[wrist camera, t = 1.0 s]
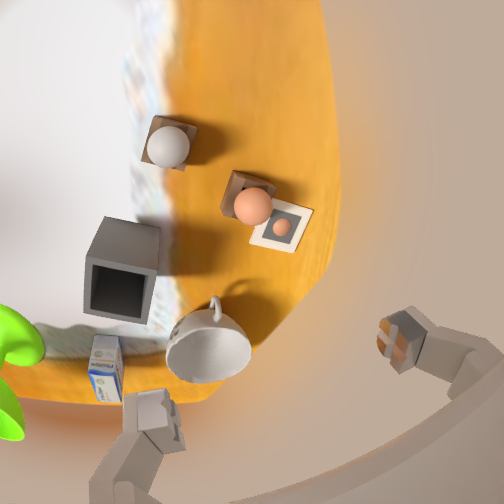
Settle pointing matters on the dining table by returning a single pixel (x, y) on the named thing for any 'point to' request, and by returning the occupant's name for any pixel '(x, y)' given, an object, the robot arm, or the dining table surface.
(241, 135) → the dining table surface
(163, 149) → the white ball
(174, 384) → the dining table surface
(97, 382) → the medicine box
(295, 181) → the dining table surface
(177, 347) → the teacup
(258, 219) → the terracotta ball
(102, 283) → the charcoal tube
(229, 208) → the walnut ball cups
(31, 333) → the wineglass
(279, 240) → the card
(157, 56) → the dining table surface
